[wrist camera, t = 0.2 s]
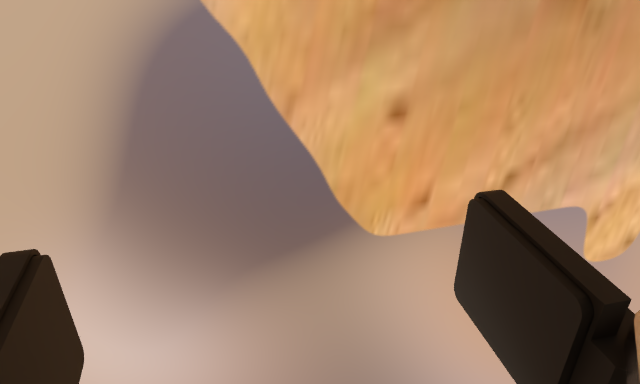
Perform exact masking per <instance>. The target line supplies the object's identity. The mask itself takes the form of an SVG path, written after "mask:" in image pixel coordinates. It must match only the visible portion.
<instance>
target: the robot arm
mask: <svg viewBox="0 0 640 384" xmlns="http://www.w3.org/2000/svg"><path fill="white" fill-rule="evenodd" d="M454 291H455V295H456V298H457V300H458V301H459V303H460V304H461V305H462V307H463V308H464V310H465V311H466V313H467V314H468V315H469V317H470V318H471V320H472V321H473V323H474V324H475V325H476V326H477V328H478V330H479V331H480V332H481V334H482V335H483V337H484V338H485V339H486V341H487V342H488V344H489V345H490V347H491V348H492V349H493V351H494V352H495V354H496V355H497V357H498V358H499V359H500V361H501V362H502V363H503V365H504V366H505V368H506V369H507V371H508V372H509V374H510V375H511V376H512V378H513V379H514V380H515V382H516V383H517V384H640V310H639V311H638V312H637V313H636V314H634V313H633V312H632V311H631V310H629V309H628V306H629V304H630V302H631V299H630V298H629V297H628V296H627V295H626V294H625V293H623V292H622V291H621V290H620V289H618V288H617V287H616V286H615V285H614V284H613V283H612V282H610V281H609V280H608V279H607V278H606V277H605V276H603V275H602V274H601V273H600V272H599V271H597V270H596V269H595V268H594V267H593V266H591V265H590V264H589V263H588V262H587V261H586V260H585V259H583V258H582V257H581V256H580V255H579V254H578V253H576V252H575V251H574V250H573V249H572V248H571V247H569V246H568V245H567V244H566V243H565V242H563V241H562V240H561V239H560V238H559V237H558V236H556V235H555V234H554V233H553V232H552V231H551V230H549V229H548V228H547V227H546V226H545V225H544V224H542V223H541V222H540V221H539V220H538V219H536V218H535V217H534V216H533V215H532V214H531V213H530V212H528V211H527V210H526V209H525V208H524V207H522V206H521V205H520V204H519V203H518V202H517V201H515V200H514V199H513V198H512V197H511V196H510V195H508V194H507V193H506V192H505V191H503V190H494V191H486V192H479V193H477V194H476V196H475V197H474V199H472V200H470V202H469V204H468V209H467V215H466V220H465V226H464V232H463V237H462V243H461V249H460V254H459V260H458V266H457V272H456V277H455V283H454ZM83 364H84V352H83V347H82V344H81V341H80V339H79V336H78V333H77V330H76V327H75V325H74V322H73V319H72V316H71V313H70V311H69V308H68V305H67V302H66V299H65V297H64V294H63V291H62V288H61V285H60V283H59V280H58V277H57V274H56V271H55V269H54V266H53V263H52V260H51V258H50V257H49V256H48V255H40V253H39V252H38V250H36V249H31V250H24V251H16V252H8V253H3V254H2V255H1V256H0V384H79V381H80V377H81V372H82V369H83Z"/></svg>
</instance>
